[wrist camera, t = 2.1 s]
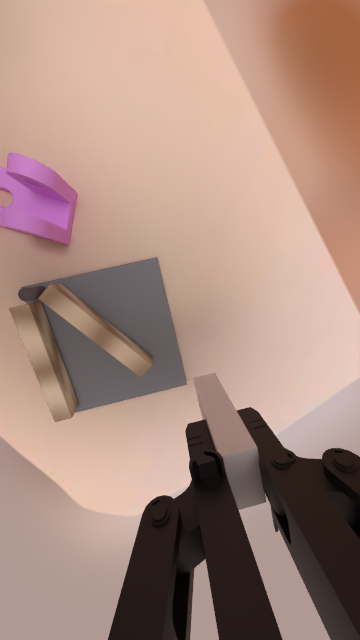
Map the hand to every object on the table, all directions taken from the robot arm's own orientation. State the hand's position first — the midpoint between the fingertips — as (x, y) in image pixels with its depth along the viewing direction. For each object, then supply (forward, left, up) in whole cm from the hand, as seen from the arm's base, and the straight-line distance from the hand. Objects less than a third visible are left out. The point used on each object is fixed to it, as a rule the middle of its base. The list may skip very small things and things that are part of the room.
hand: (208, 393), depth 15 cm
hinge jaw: (-3, -9, -14) cm, 17 cm away
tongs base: (-2, -16, -14) cm, 21 cm away
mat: (-2, -9, -14) cm, 17 cm away
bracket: (-19, -15, -15) cm, 28 cm away
